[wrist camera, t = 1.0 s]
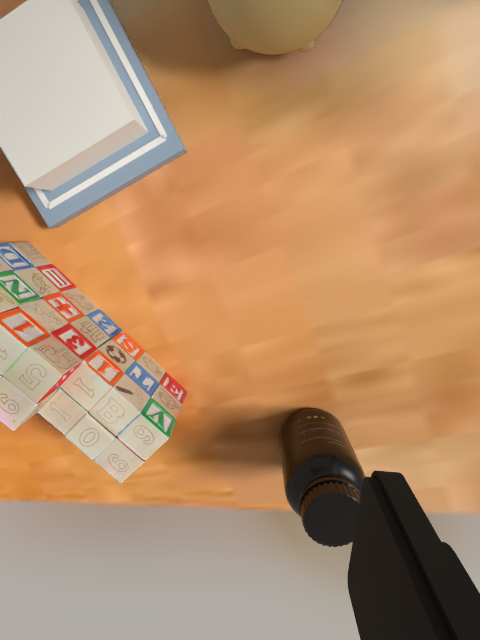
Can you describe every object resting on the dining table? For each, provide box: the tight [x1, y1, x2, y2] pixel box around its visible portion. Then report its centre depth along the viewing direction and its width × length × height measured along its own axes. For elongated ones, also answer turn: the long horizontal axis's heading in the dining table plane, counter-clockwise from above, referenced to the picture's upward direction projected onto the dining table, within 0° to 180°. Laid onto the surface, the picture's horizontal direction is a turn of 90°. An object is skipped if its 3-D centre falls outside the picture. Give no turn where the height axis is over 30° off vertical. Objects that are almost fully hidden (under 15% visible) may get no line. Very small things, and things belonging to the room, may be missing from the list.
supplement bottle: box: [279, 409, 365, 547], centre depth 34 cm, size 7×7×12 cm
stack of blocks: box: [0, 241, 187, 483], centre depth 33 cm, size 21×6×12 cm, turn 45°
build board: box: [0, 0, 187, 228], centre depth 31 cm, size 14×15×6 cm
